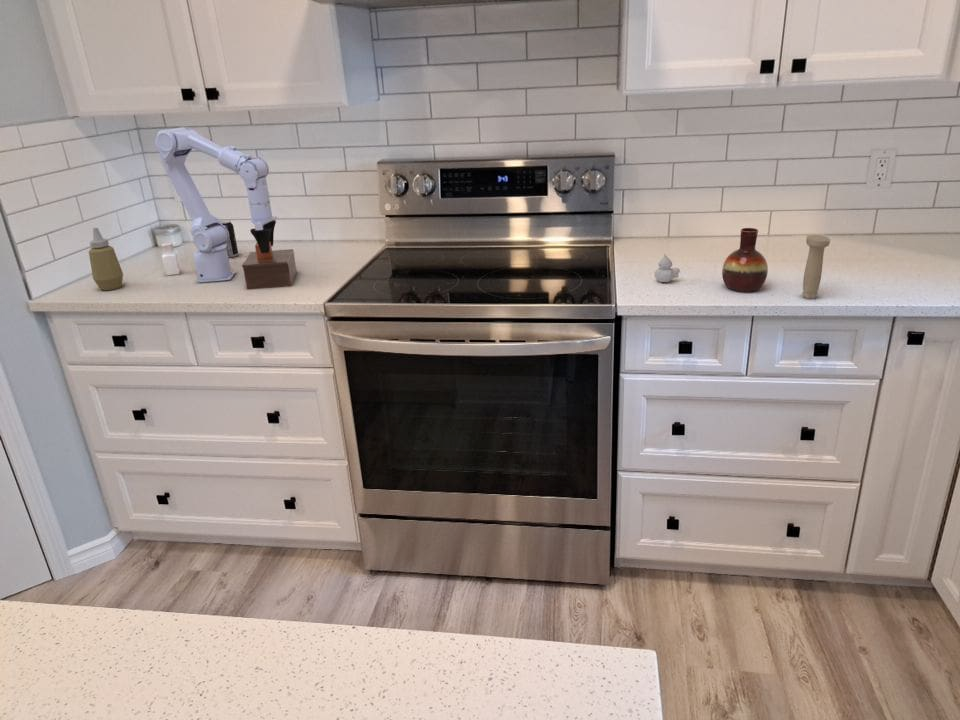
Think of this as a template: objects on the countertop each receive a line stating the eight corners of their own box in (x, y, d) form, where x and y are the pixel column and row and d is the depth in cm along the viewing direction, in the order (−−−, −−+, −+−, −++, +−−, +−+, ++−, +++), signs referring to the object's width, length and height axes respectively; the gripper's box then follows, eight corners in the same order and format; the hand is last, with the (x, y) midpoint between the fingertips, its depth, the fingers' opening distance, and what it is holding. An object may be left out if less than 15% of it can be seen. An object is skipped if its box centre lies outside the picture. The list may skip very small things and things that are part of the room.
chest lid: (287, 263, 197) (287, 261, 197) (242, 267, 196) (241, 265, 195) (293, 250, 210) (293, 249, 210) (251, 254, 209) (250, 252, 208)
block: (257, 259, 201) (255, 245, 199) (258, 255, 204) (256, 242, 203) (271, 257, 201) (269, 244, 200) (272, 254, 205) (270, 241, 203)
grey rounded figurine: (653, 278, 192) (655, 250, 189) (677, 278, 191) (680, 250, 188) (654, 284, 187) (656, 255, 184) (679, 284, 186) (682, 255, 183)
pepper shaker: (180, 271, 220) (174, 241, 216) (179, 274, 216) (173, 244, 213) (167, 272, 219) (160, 243, 215) (166, 276, 215) (159, 246, 211)
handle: (815, 293, 176) (824, 234, 170) (823, 301, 170) (833, 241, 164) (795, 293, 176) (803, 235, 170) (802, 301, 170) (812, 241, 164)
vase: (713, 289, 181) (719, 231, 175) (731, 279, 189) (737, 222, 183) (755, 297, 175) (762, 237, 168) (771, 286, 182) (779, 228, 176)
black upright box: (230, 253, 238) (223, 218, 233) (242, 254, 236) (235, 219, 231) (217, 257, 233) (210, 222, 229) (229, 259, 231) (222, 223, 226)
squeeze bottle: (118, 282, 211) (103, 223, 204) (131, 286, 207) (115, 226, 199) (91, 289, 206) (74, 229, 198) (103, 293, 201) (86, 232, 194)
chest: (291, 285, 200) (287, 263, 198) (247, 289, 199) (242, 266, 196) (296, 272, 213) (293, 251, 210) (255, 275, 211) (251, 254, 209)
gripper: (270, 206, 190) (277, 254, 196) (277, 197, 204) (284, 242, 209) (243, 208, 190) (252, 256, 195) (252, 198, 203) (260, 244, 208)
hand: (267, 249), depth 202 cm, fingers open, 7 cm apart
